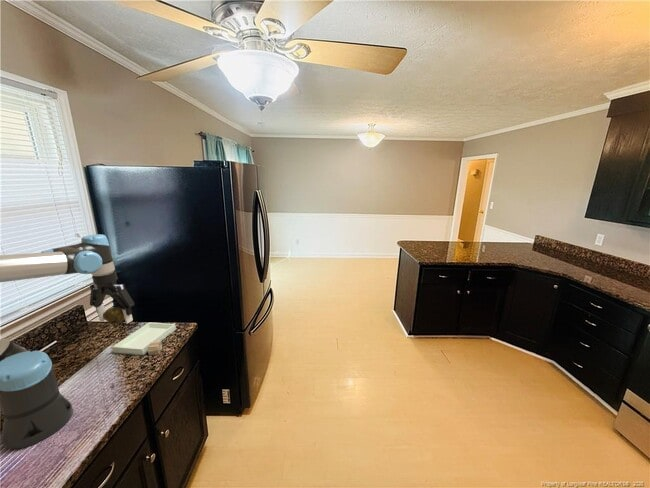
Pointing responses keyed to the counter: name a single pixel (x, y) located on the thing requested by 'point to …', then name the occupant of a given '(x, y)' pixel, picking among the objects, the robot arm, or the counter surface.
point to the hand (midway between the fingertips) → (116, 320)
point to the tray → (143, 338)
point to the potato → (114, 315)
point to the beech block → (154, 348)
